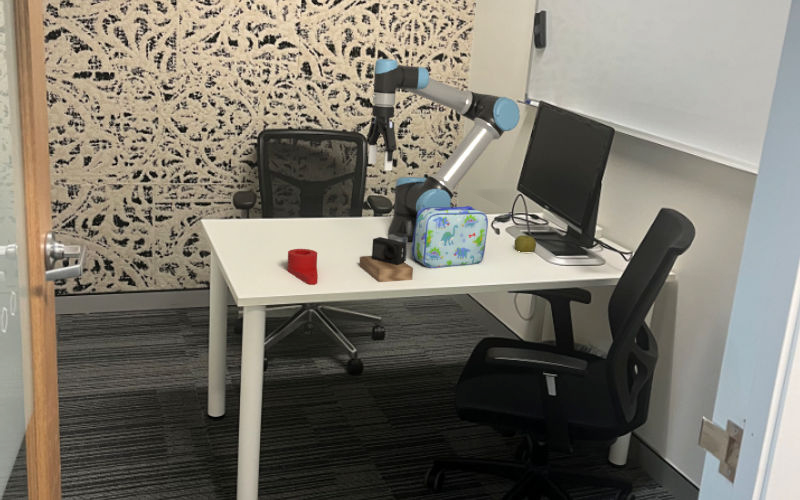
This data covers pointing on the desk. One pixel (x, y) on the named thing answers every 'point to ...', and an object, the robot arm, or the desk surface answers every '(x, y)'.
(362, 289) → the desk surface
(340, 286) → the desk surface
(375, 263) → the walnut riser
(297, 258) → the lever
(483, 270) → the desk surface
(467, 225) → the lunch box
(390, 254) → the digital camera
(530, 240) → the olive rounded block
